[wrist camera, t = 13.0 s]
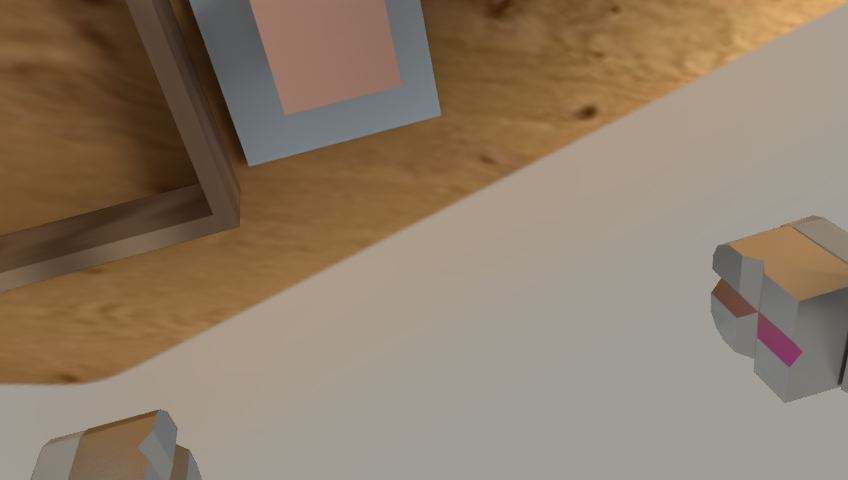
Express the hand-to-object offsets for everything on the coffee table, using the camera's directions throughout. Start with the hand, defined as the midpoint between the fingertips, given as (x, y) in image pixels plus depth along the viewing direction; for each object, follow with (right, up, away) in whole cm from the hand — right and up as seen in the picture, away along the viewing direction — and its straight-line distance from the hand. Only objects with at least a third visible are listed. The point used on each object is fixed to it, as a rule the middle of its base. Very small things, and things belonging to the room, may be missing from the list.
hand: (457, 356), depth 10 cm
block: (-6, +13, +24) cm, 28 cm away
